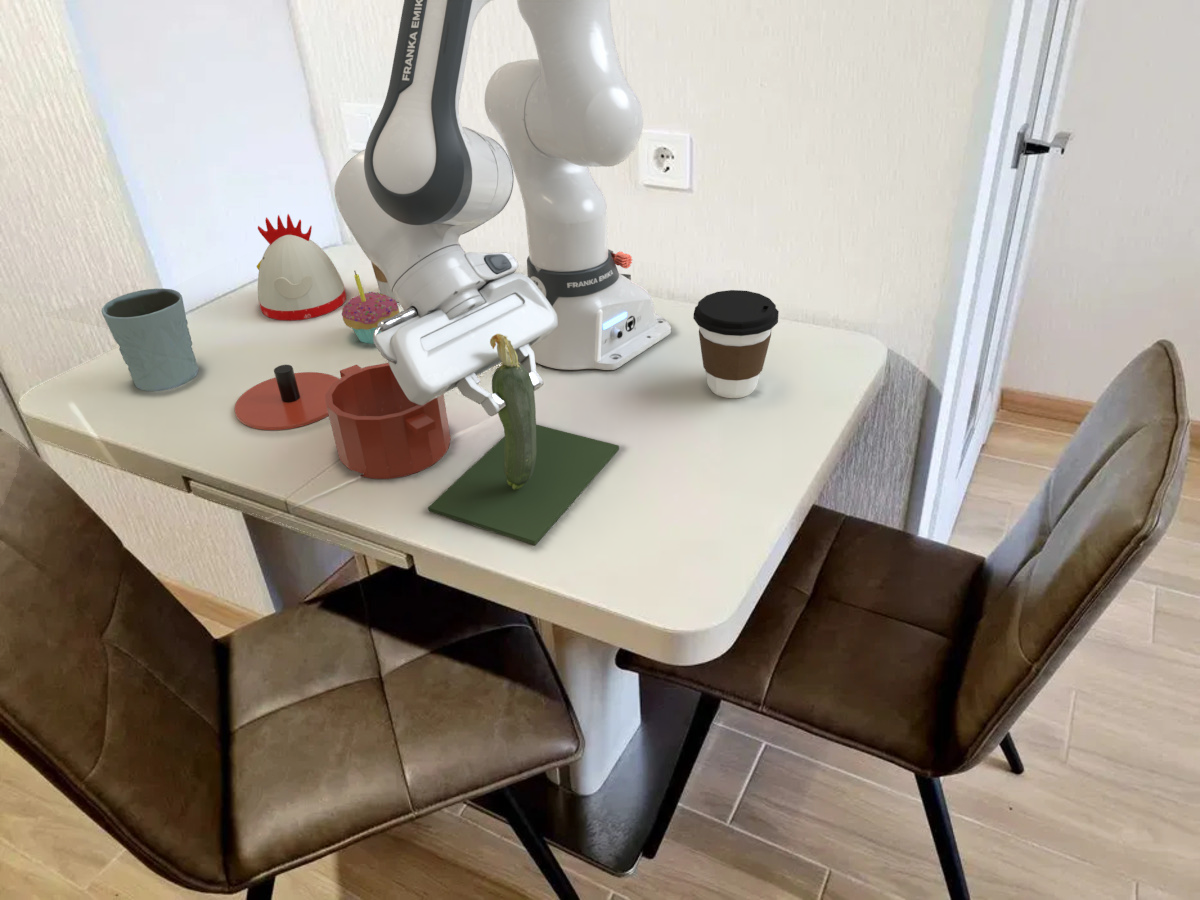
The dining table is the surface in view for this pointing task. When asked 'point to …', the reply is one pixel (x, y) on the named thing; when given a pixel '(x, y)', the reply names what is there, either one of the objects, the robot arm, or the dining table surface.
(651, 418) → the dining table surface
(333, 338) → the dining table surface
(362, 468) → the pot
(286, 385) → the pot lid
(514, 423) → the vegetable
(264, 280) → the kitchen timer
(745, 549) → the dining table surface
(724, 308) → the coffee cup
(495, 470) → the mat
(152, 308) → the blue-grey cup
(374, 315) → the cupcake
